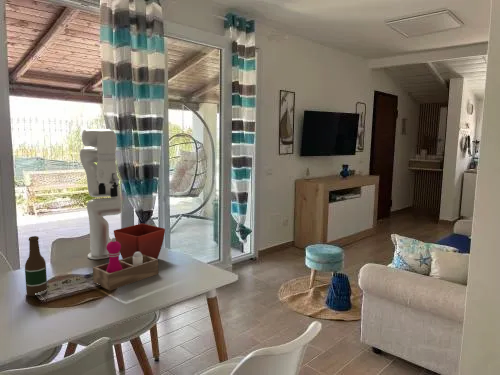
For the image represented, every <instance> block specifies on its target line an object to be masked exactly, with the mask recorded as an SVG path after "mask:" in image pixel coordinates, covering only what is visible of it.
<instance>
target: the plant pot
mask: <svg viewBox="0 0 500 375" xmlns="http://www.w3.org/2000/svg"><path fill="white" fill-rule="evenodd" d="M165 234H166V228H164V227H159V226H156V225H155V226H154V225H152V224H146V223H138V224H133V225H129V226H126V227H121V228H117V229H114V230H113V235H114V238H115V239H116V241H117V242H119V243H120V244H121V249H120V255H121V259H124V258H128V257H131V256H133V254H134V253H135V252H141V253H142V254H143V255H146V256H149V257H152V258H155V259H158V258H159V255H160V253H161V250H162V246H163V242H164V239H165Z"/></svg>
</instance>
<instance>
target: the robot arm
mask: <svg viewBox="0 0 500 375" xmlns="http://www.w3.org/2000/svg"><path fill="white" fill-rule="evenodd" d="M81 142H82V144H83V146H84V147H83V148H81V150H80V151H79V160H80V163H81V165H82V167H83V169H84V171H85V175H86V182H87V183H86V184H87V191H88V195H89V196H90V197H93V198H92V199H90V200H89V201H88V202H87V203H86V209H87V214H88V222H89V242H90V244H89V245H90V247H89V248H88V250H90V252H89V253H88V254H87V258H88V259H90V260H104V259H108V258H109V256H108V251H107V244H108V243H109V242H110V225H109V222H108V220H106V219H105V218H104V217H107V216H115V215H116V216H117V215H120V214H121V213H122V211H123V206H122V205H123V204H122V203H123V202H122V197H121V190H120V189H121V188H120V183H119V182H120V178H119V177H118V170H117V163H116V161H117V160H116V158H117V157H116V151H117V144H118V139H117V134H116V133H115V131H114V130H111V129H103V128H101V129H95V128H92V129H91V128H89V129H88V128H85V129H83V131H82V133H81Z"/></svg>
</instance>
